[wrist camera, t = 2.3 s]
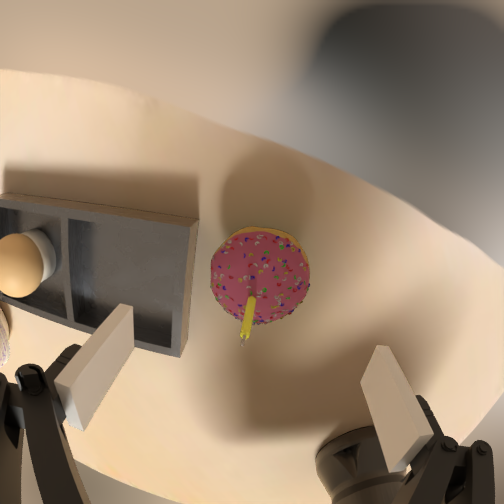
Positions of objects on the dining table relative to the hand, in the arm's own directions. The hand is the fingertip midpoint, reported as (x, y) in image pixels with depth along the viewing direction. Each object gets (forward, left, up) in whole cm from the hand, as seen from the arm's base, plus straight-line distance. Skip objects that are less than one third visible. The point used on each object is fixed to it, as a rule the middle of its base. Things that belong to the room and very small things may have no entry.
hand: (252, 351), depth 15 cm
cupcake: (0, 0, -16) cm, 16 cm away
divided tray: (+20, +4, -16) cm, 26 cm away
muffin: (+27, +4, -15) cm, 31 cm away
